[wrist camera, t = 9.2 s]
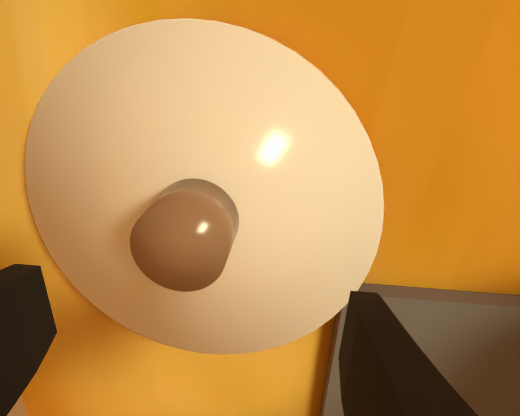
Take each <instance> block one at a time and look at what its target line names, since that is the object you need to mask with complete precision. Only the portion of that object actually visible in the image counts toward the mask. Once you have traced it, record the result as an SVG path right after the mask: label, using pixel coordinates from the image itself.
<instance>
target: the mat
mask: <svg viewBox="0 0 520 416" xmlns="http://www.w3.org/2000/svg"><path fill="white" fill-rule="evenodd" d="M358 291H362V292H374V293H378V294H379V295H380V296H381V297H382V298H383V300H384V301H385V302H386V304H387V305H388V306H389V308H390V309H391V311H392V312H393V313H394V315H395V316H396V317H397V319H398V320H399V321H400V323H401V324H402V325H403V327H404V328H405V329H406V330H407V332H408V333H409V334H410V336H411V337H412V338H413V340H414V341H415V342H416V343H417V345H418V346H419V347H420V348H421V350H422V351H423V352H424V353H425V355H426V356H427V357H428V358H429V359H430V361H431V362H432V363H433V364H434V366H435V367H436V368H437V369H438V370H439V372H440V373H441V374H442V375H443V376H444V378H445V379H446V380H447V381H448V382H449V383H450V385H451V386H452V387H453V388H454V389H455V390H456V391H457V393H458V394H459V395H460V396H461V397H462V398H463V399H464V400H465V401H466V403H467V404H468V405H469V406H470V407H471V408H472V409H473V410H474V411H475V413H476V414H477V415H478V416H520V296H519V295H506V294H493V293H480V292H468V291H455V290H442V289H429V288H417V287H404V286H391V285H379V284H366V283H362V284H361V286H360V288H359V289H358ZM347 307H348V303H347V304H346V305H345V306H344V307H343V308H342V309H341V310H340V311H339V312H338V313H337V316H336V322H335V328H334V334H333V339H332V345H331V351H330V357H329V363H328V369H327V375H326V381H325V387H324V393H323V399H322V405H321V411H320V416H344V413H343V407H342V401H341V388H340V374H339V358H338V356H339V350H340V345H341V339H342V334H343V328H344V323H345V317H346V312H347Z"/></svg>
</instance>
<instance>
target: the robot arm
mask: <svg viewBox="0 0 520 416" xmlns="http://www.w3.org/2000/svg"><path fill="white" fill-rule="evenodd" d="M56 333H57V330H56V326H55V322H54V318H53V314H52V310H51V306H50V302H49V299H48V295H47V291H46V287H45V283H44V279H43V275H42V271H41V267H40V266H35V265H22V264H14V265H11V266H9V267H6V268H4V269H2V270H0V416H7V414H8V413H9V412H10V410H11V409H12V407H13V406H14V404H15V403H16V401H17V400H18V398H19V397H20V396H21V394H22V393H23V391H24V390H25V388H26V387H27V385H28V384H29V382H30V381H31V379H32V378H33V376H34V375H35V373H36V372H37V370H38V368H39V366H40V364H41V362H42V361H43V359H44V357H45V355H46V353H47V351H48V349H49V347H50V345H51V343H52V341H53V339H54V337H55V335H56ZM338 358H339V374H340V388H341V401H342V407H343V413H344V416H478V415H477V414H476V413H475V411H474V410H473V409H472V408H471V407H470V406H469V405H468V404H467V403H466V401H465V400H464V399H463V398H462V397H461V396H460V395H459V394H458V393H457V391H456V390H455V389H454V388H453V387H452V386H451V385H450V383H449V382H448V381H447V380H446V379H445V378H444V376H443V375H442V374H441V373H440V372H439V370H438V369H437V368H436V367H435V366H434V364H433V363H432V362H431V361H430V359H429V358H428V357H427V356H426V355H425V353H424V352H423V351H422V350H421V348H420V347H419V346H418V345H417V343H416V342H415V341H414V340H413V338H412V337H411V336H410V334H409V333H408V332H407V330H406V329H405V328H404V327H403V325H402V324H401V323H400V321H399V320H398V319H397V317H396V316H395V315H394V313H393V312H392V311H391V309H390V308H389V306H388V305H387V304H386V302H385V301H384V300H383V298H382V297H381V296H380V295H379V294H378V293H374V292H362V291H350V296H349V301H348V307H347V312H346V317H345V323H344V328H343V334H342V339H341V345H340V350H339V356H338Z"/></svg>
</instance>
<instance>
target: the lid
mask: <svg viewBox="0 0 520 416" xmlns="http://www.w3.org/2000/svg"><path fill="white" fill-rule="evenodd" d="M25 181H26V190H27V195H28V200H29V205H30V209H31V212H32V215H33V218H34V221H35V224H36V227H37V229H38V232H39V234H40V236H41V238H42V240H43V243H44V245H45V247H46V248H47V250H48V252H49V253H50V255H51V257H52V258H53V260H54V262H55V263H56V265H57V266H58V267H59V269H60V270H61V271H62V272H63V274H64V275H65V276H66V278H67V279H68V280H69V281H70V282H71V284H72V285H73V286H74V287H75V288H76V289H77V290H78V291H79V292H80V293H81V294H82V295H83V296H84V297H85V298H86V299H87V300H88V301H90V302H91V303H92V304H93V305H94V306H95V307H96V308H98V309H99V310H100V311H102V312H103V313H104V314H106V315H107V316H109V317H110V318H111V319H113V320H114V321H116V322H118V323H119V324H121V325H123V326H124V327H126V328H128V329H129V330H131V331H133V332H135V333H138V334H140V335H142V336H144V337H146V338H148V339H151V340H154V341H156V342H159V343H162V344H165V345H168V346H172V347H175V348H179V349H183V350H188V351H194V352H200V353H209V354H244V353H251V352H257V351H263V350H267V349H271V348H275V347H278V346H282V345H284V344H287V343H290V342H292V341H295V340H297V339H300V338H301V337H303V336H305V335H307V334H309V333H311V332H312V331H314V330H316V329H318V328H319V327H320V326H322V325H323V324H325V323H326V322H327V321H329V320H330V319H331V318H333V317H334V316H335V315H336V314H337V313H338V312H339V311H340V310H341V309H342V308H343V307H344V306H345V305H346V304H347V303H348V301H349V296H350V291H358V289H359V288H360V286H361V284H362V283H363V281H364V279H365V278H366V276H367V274H368V273H369V271H370V268H371V266H372V263H373V261H374V258H375V256H376V253H377V250H378V246H379V242H380V238H381V234H382V226H383V215H384V200H383V185H382V180H381V175H380V170H379V166H378V161H377V158H376V156H375V153H374V150H373V148H372V145H371V142H370V140H369V137H368V135H367V133H366V131H365V129H364V127H363V125H362V123H361V122H360V120H359V118H358V116H357V114H356V112H355V111H354V109H353V108H352V106H351V105H350V104H349V102H348V101H347V100H346V98H345V97H344V95H343V94H342V93H341V91H340V90H339V89H338V88H337V87H336V86H335V85H334V84H333V83H332V82H331V81H330V79H329V78H328V77H327V76H326V75H325V74H324V73H323V72H322V71H321V70H320V69H319V68H317V67H316V66H315V65H313V64H312V63H311V62H309V61H308V60H307V59H306V58H304V57H303V56H302V55H300V54H299V53H298V52H296V51H295V50H293V49H291V48H289V47H287V46H286V45H284V44H282V43H280V42H279V41H277V40H275V39H273V38H271V37H269V36H266V35H264V34H261V33H259V32H256V31H254V30H251V29H249V28H246V27H242V26H238V25H233V24H229V23H225V22H221V21H213V20H202V19H190V18H182V19H166V20H155V21H151V22H146V23H141V24H137V25H132V26H129V27H127V28H124V29H121V30H119V31H116V32H114V33H111V34H109V35H106V36H105V37H103V38H101V39H100V40H98V41H96V42H94V43H93V44H91V45H89V46H88V47H86V48H85V49H83V50H82V51H81V52H80V53H79V54H77V55H76V56H75V57H74V58H73V59H71V60H70V61H69V62H68V63H67V64H66V65H65V66H64V67H63V68H62V70H61V71H60V72H59V73H58V74H57V75H56V77H55V78H54V79H53V80H52V81H51V83H50V85H49V86H48V88H47V90H46V91H45V93H44V94H43V96H42V98H41V99H40V101H39V104H38V106H37V109H36V111H35V114H34V116H33V119H32V121H31V125H30V129H29V134H28V138H27V142H26V153H25Z"/></svg>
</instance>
